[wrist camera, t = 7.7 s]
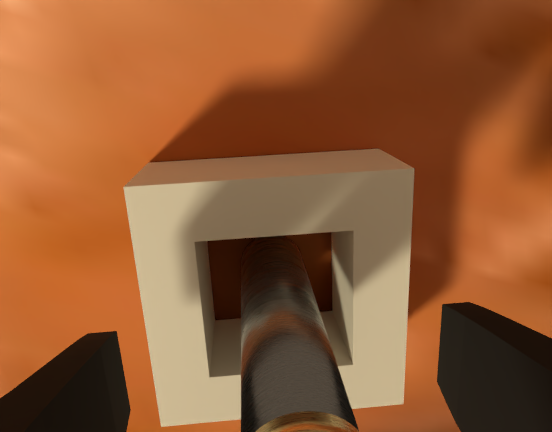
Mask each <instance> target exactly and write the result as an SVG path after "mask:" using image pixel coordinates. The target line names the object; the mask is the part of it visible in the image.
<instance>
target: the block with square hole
mask: <svg viewBox="0 0 552 432" xmlns="http://www.w3.org/2000/svg"><path fill="white" fill-rule="evenodd" d="M414 169H415V168H413V167H411V166H409V165H408V164H406V163H404V162H402V161H400V160H399V159H397V158H395V157H393V156H391V155H390V154H388V153H386V152H384V151H382V150H381V149H363V150H347V151H330V152H314V153H298V154H281V155H265V156H249V157H232V158H216V159H200V160H183V161H167V162H151V163H148V164H147V165H145V166H144V167H143V168H142V169H141V170H140V171H139V172H138V173H137V174H136V175H135V176H134V177H133V178H132V179H131V180H130V181H129V182H128V183H127V184H126V185H125V186H124V193H125V199H126V206H127V212H128V218H129V225H130V231H131V238H132V244H133V250H134V257H135V263H136V269H137V276H138V282H139V289H140V295H141V301H142V308H143V314H144V320H145V327H146V333H147V340H148V346H149V352H150V359H151V365H152V371H153V378H154V384H155V390H156V397H157V403H158V410H159V416H160V422H161V427H163V426H174V425H185V424H195V423H206V422H217V421H227V420H238V419H241V318H238V319H226V320H215V313H214V303H213V293H212V283H211V273H210V264H209V254H208V244H207V241H212V240H226V239H240V238H255V237H269V236H283V235H297V234H311V233H325V232H331V240H332V311H325V312H320V314H321V317H322V320H323V323H324V326H325V329H326V332H327V335H328V338H329V341H330V344H331V347H332V350H333V353H334V356H335V360H336V363H337V366H338V369H339V372H340V375H341V378H342V381H343V384H344V387H345V390H346V393H347V396H348V399H349V402H350V405H351V408H352V409H355V408H366V407H377V406H388V405H398V404H403V403H404V381H405V360H406V339H407V318H408V296H409V275H410V254H411V233H412V212H413V190H414Z"/></svg>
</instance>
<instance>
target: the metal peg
mask: <svg viewBox="0 0 552 432" xmlns="http://www.w3.org/2000/svg"><path fill="white" fill-rule="evenodd" d="M241 432H359V430H358V427H357V424H356V421H355V417H354V414H353V411H352V408H351V405H350V402H349V399H348V396H347V393H346V390H345V387H344V384H343V381H342V378H341V375H340V372H339V369H338V366H337V363H336V360H335V356H334V353H333V350H332V347H331V344H330V341H329V338H328V335H327V332H326V329H325V326H324V323H323V320H322V317H321V314H320V311H319V308H318V305H317V302H316V299H315V296H314V292H313V289H312V286H311V283H310V280H309V277H308V274H307V271H306V268H305V265H304V262H303V259H302V256H301V253H300V250H299V249H298V247H297V246H296V244H295V243H294V242H293V241H291V240H290V239H288V238H287V237H284V236H269V237H258V238H256V239H255V240H253V241H252V242H251V243H250V244H249V245H248V246H247V247H246V249H245V250H244V252H243V255H242V259H241Z"/></svg>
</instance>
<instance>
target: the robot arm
mask: <svg viewBox="0 0 552 432" xmlns="http://www.w3.org/2000/svg"><path fill="white" fill-rule="evenodd" d="M437 382H438V385H439V387H440V389H441V392H442V394H443V396H444V398H445V401H446V403H447V405H448V407H449V409H450V411H451V413H452V416H453V418H454V420H455V422H456V424H457V425H458V427H459V429H460V430H461V432H552V338H549V337H547V336H545V335H543V334H541V333H539V332H536V331H534V330H532V329H530V328H528V327H526V326H523V325H521V324H519V323H517V322H515V321H513V320H511V319H508V318H506V317H504V316H502V315H500V314H497V313H495V312H493V311H491V310H488V309H486V308H484V307H481V306H479V305H476V304H473V303H470V302H464V303H452V304H442V318H441V332H440V347H439V361H438V375H437ZM129 415H130V404H129V399H128V393H127V387H126V382H125V376H124V371H123V365H122V359H121V354H120V348H119V342H118V337H117V331H113V332H101V333H89V334H86V335H85V336H83V337H82V338H80V339H79V340H77V341H76V342H75V343H73V344H72V345H70V346H69V347H68V348H66V349H65V350H64V351H63V352H61V353H60V354H59V355H57V356H56V357H55V358H53V359H52V360H51V361H50V362H48V363H47V364H46V365H44V366H43V367H42V368H40V369H39V370H38V371H37V372H35V373H34V374H33V375H31V376H30V377H29V378H27V379H26V380H25V381H23V382H22V383H21V384H19V385H18V386H17V387H16V388H14V389H13V390H12V391H10V392H9V393H7V394H6V395H5V396H3V397H2V398H0V432H126V430H127V425H128V420H129Z"/></svg>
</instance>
